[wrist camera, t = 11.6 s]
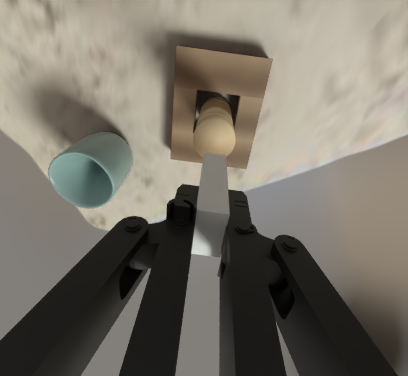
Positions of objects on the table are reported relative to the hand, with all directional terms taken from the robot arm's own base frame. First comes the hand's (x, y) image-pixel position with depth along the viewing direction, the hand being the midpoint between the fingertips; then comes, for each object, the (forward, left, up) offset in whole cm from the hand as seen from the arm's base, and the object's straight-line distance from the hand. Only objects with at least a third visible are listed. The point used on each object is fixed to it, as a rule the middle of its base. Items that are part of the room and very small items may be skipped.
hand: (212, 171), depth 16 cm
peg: (0, 0, -18) cm, 18 cm away
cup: (+8, -15, -19) cm, 25 cm away
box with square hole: (0, 0, -18) cm, 18 cm away
